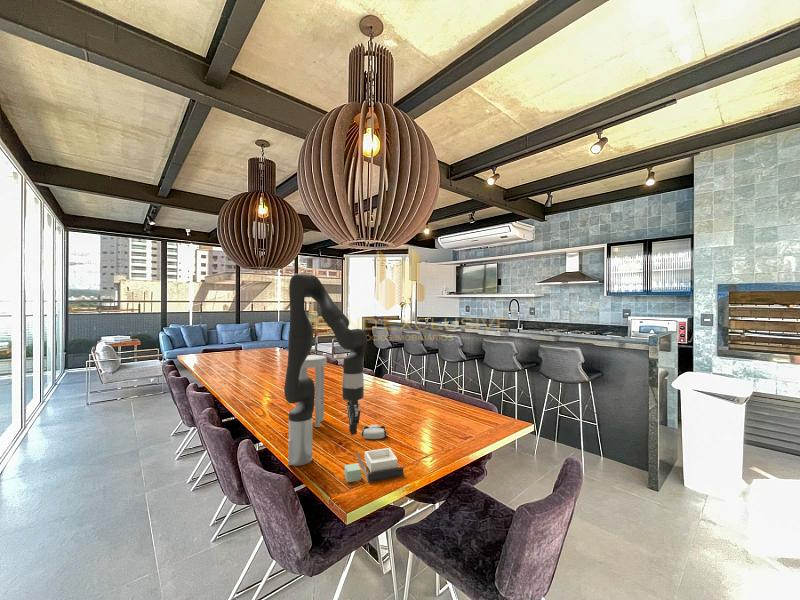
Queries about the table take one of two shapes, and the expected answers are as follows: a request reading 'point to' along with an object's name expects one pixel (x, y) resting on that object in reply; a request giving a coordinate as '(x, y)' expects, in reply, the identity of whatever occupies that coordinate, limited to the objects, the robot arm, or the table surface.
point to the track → (381, 473)
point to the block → (352, 472)
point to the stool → (316, 383)
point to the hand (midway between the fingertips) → (353, 433)
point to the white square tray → (380, 459)
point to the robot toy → (374, 432)
